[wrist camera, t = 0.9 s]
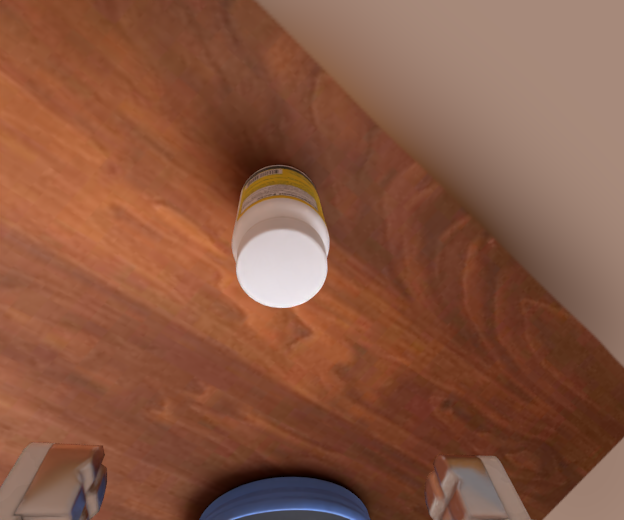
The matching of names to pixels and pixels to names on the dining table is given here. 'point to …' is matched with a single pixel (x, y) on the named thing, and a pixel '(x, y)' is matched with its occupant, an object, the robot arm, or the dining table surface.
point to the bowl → (287, 501)
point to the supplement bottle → (280, 238)
